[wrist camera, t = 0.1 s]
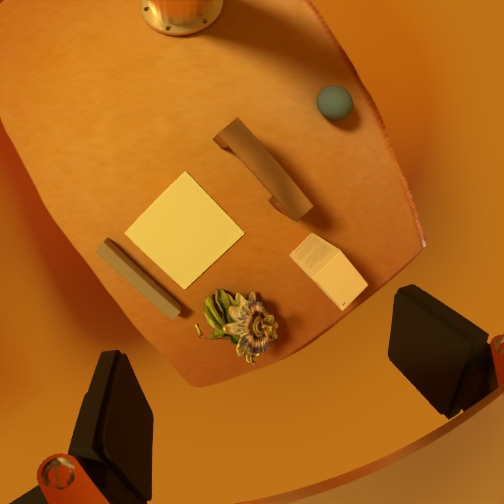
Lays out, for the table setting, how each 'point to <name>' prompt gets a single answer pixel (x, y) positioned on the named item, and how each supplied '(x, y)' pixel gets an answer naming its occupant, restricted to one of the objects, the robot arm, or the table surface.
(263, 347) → the passion flower
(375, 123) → the table surface
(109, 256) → the grey square bar
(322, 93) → the ball
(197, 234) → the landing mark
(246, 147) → the bridge
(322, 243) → the small box
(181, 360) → the table surface
